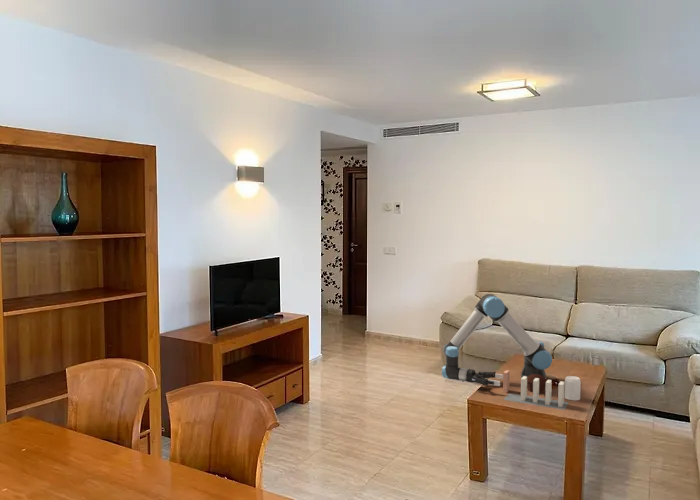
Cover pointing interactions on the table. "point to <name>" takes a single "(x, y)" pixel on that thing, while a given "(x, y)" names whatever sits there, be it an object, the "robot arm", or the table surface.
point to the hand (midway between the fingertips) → (503, 380)
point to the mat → (530, 401)
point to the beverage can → (572, 388)
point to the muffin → (541, 382)
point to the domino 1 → (506, 381)
